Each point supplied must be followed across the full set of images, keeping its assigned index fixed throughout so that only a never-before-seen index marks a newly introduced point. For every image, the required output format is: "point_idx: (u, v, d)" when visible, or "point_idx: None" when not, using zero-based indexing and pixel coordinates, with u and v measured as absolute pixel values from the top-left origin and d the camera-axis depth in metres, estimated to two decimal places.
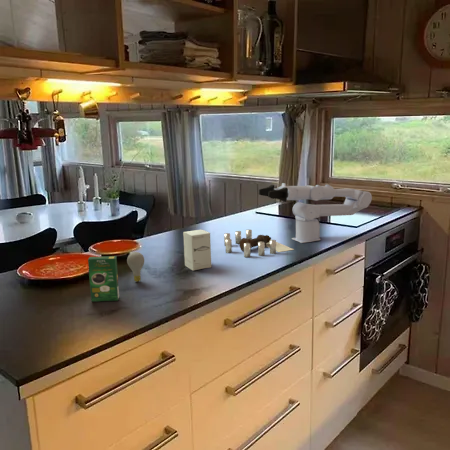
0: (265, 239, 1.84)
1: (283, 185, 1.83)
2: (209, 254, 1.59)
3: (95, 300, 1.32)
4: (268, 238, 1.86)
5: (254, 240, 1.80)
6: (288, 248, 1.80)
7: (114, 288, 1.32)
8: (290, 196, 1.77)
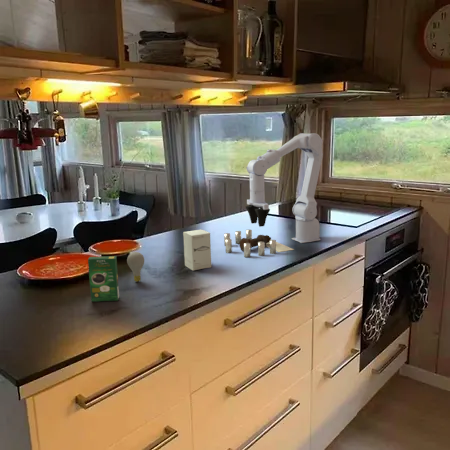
0: (265, 239, 1.84)
1: (250, 204, 1.78)
2: (209, 254, 1.59)
3: (95, 300, 1.32)
4: (268, 238, 1.86)
5: (254, 240, 1.80)
6: (288, 248, 1.80)
7: (114, 288, 1.32)
8: (267, 208, 1.74)
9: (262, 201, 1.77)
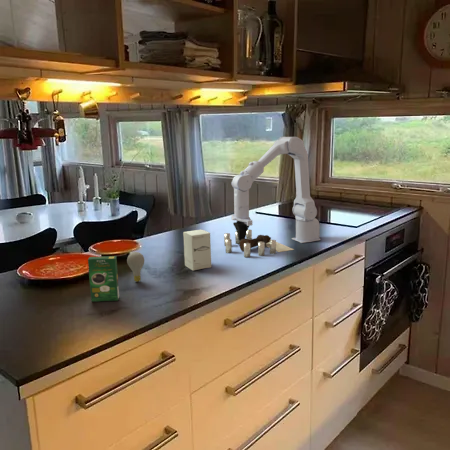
0: (265, 239, 1.84)
1: None
2: (209, 254, 1.59)
3: (95, 300, 1.32)
4: (268, 238, 1.86)
5: (254, 240, 1.80)
6: (288, 248, 1.80)
7: (114, 288, 1.32)
8: (251, 224, 1.72)
9: (246, 217, 1.76)
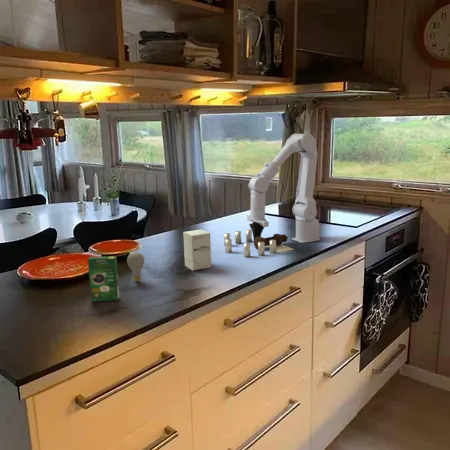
0: (281, 238, 1.84)
1: None
2: (209, 254, 1.59)
3: (95, 300, 1.32)
4: (284, 237, 1.86)
5: (269, 239, 1.81)
6: (288, 248, 1.80)
7: (114, 288, 1.32)
8: (267, 225, 1.75)
9: (262, 218, 1.79)
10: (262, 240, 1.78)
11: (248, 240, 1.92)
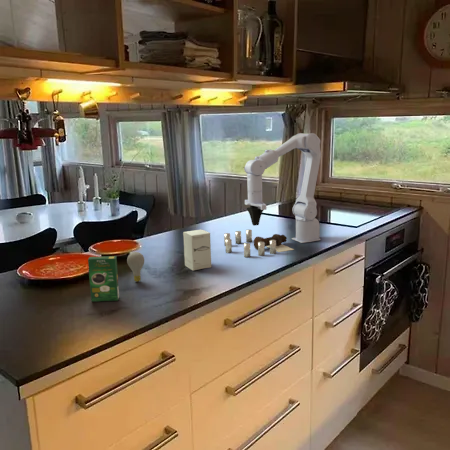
0: (280, 238, 1.84)
1: (248, 204, 1.78)
2: (209, 254, 1.59)
3: (95, 300, 1.32)
4: (284, 238, 1.86)
5: (268, 239, 1.81)
6: (288, 248, 1.80)
7: (114, 288, 1.32)
8: (265, 208, 1.73)
9: (260, 201, 1.77)
10: (262, 240, 1.77)
11: (248, 240, 1.92)
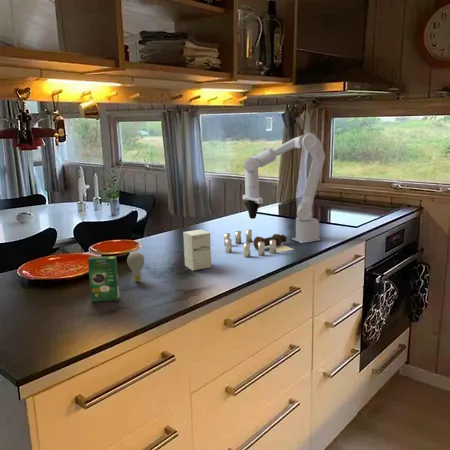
0: (280, 238, 1.84)
1: (246, 199, 1.90)
2: (209, 254, 1.59)
3: (95, 300, 1.32)
4: (284, 238, 1.86)
5: (268, 239, 1.81)
6: (288, 248, 1.80)
7: (114, 288, 1.32)
8: (261, 202, 1.86)
9: (257, 196, 1.90)
10: (262, 240, 1.78)
11: (248, 240, 1.92)
